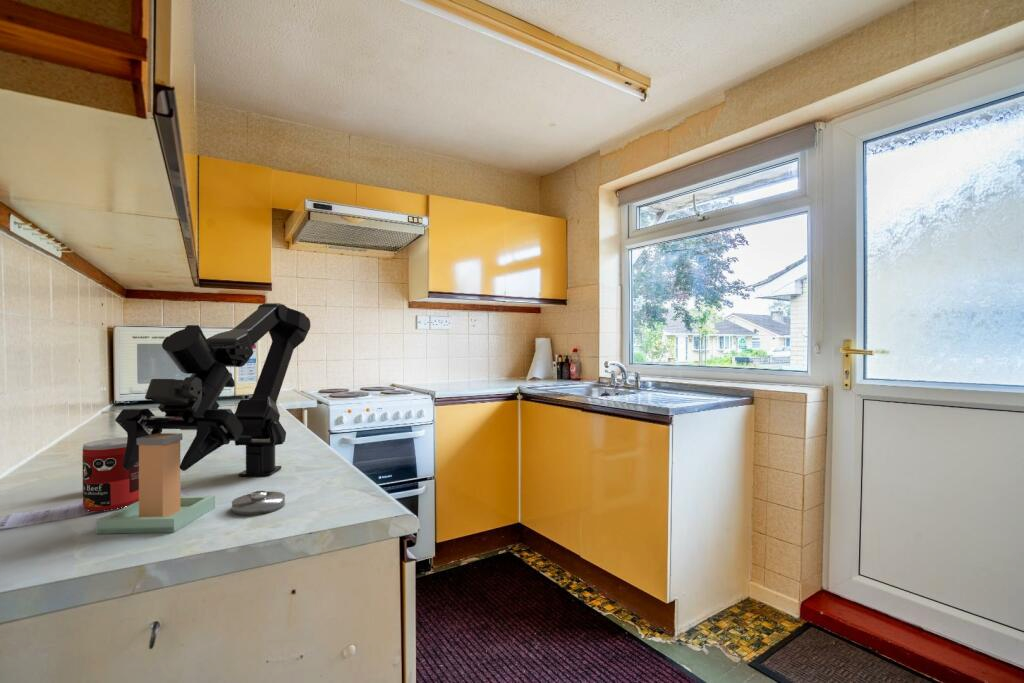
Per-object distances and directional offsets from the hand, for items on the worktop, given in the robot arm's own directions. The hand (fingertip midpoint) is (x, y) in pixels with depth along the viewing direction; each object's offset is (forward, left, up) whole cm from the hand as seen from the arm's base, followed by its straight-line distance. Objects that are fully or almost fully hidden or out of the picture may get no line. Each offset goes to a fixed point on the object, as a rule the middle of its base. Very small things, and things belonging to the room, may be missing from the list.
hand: (153, 469), depth 76 cm
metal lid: (-6, +13, -8) cm, 17 cm away
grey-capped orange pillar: (-1, 0, -8) cm, 8 cm away
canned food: (-9, -13, -9) cm, 18 cm away
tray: (-1, 0, -8) cm, 8 cm away
